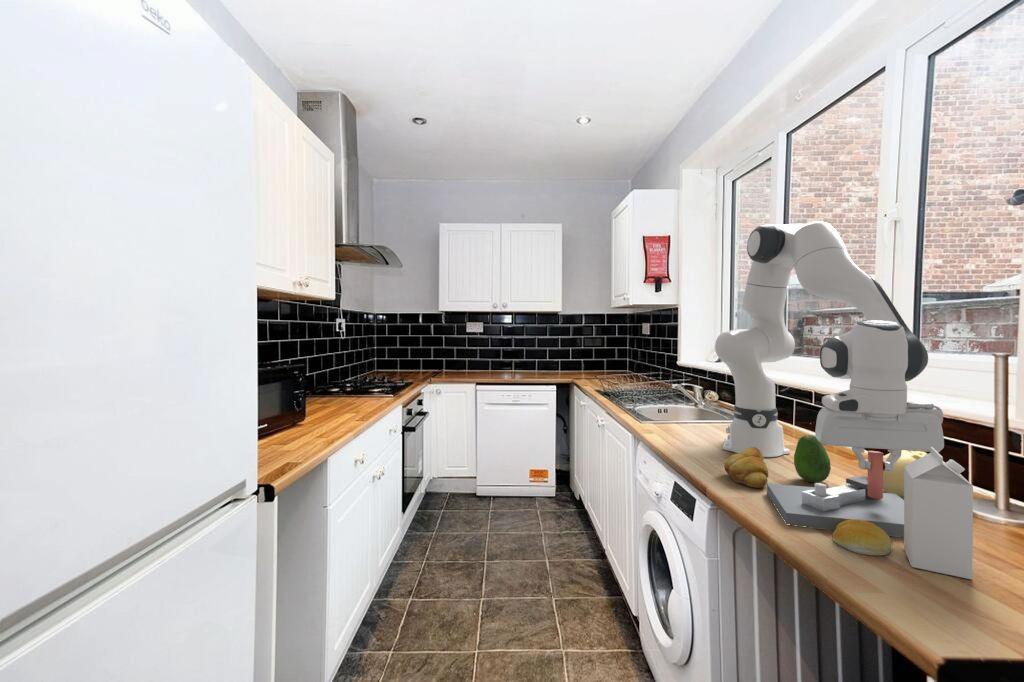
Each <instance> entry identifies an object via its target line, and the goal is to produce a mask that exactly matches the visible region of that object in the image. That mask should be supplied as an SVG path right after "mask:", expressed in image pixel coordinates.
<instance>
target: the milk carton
mask: <svg viewBox="0 0 1024 682" xmlns="http://www.w3.org/2000/svg"><path fill="white" fill-rule="evenodd" d="M965 470H966V469H965V467H963V466H962V465H961V464H960V463H958V462H956V461H955V460H954V459H952V458H951V459H950V458H949V460H948V461H946V462H945V461H944V458H943V456H942V455H941V454H940V452H937V451H936V450H935V449H934V448H933V447H931V452H929V453H927V455H925V456H923V457H921V458H919V459H918V460H916V461H914V462H912V463H910V464H908V465H906V466H904V498H903V500H904V537H903V549H904V551H905V554H906V557H907V559H908V560H909V564H910V566H911V568H915V569H921V570H925V571H929V572H935V573H939V574H944V575H949V576H954V577H957V578H962V579H967V580H973V566H974V565H973V562H974V561H973V559H974V558H973V556H974V555H973V551H974V550H973V548H974V545H973V544H974V540H973V539H974V535H973V534H974V530H973V529H974V527H973V526H974V522H973V521H974V487H973V484H971V483H970V482H969V481H968V480H967V478H965V477H964V476H963V475H962V474H961V473H962V472H964V471H965Z"/></svg>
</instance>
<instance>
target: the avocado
mask: <svg viewBox="0 0 1024 682" xmlns="http://www.w3.org/2000/svg"><path fill="white" fill-rule="evenodd" d="M824 446H825V445H823V444H822V443H820V442H819V441H818V440H817V438H816V436H815V435H813V434H804V435H802V436H800V437H799V439H798V441H797V444H796V447H795V450H794V455H793V464H794V468H795V471H796V473H797V474H798V476H799V477H800V478H801V479H802V480H804V481H806V482H810V483H821V482H823V481H826V480H827V478H828V477H829V475H830V472H831V469H832V468H831V459H830V457H829V455H828V452H827V450H826V449H825V447H824Z"/></svg>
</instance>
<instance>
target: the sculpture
mask: <svg viewBox="0 0 1024 682" xmlns="http://www.w3.org/2000/svg"><path fill="white" fill-rule="evenodd" d="M927 454H928V453H927V452H923V451H907V450H902V454H901V457H900V458H899V459H898V460H897V461H896V463H894V471H884V470H883V492H885V493H893V494H897V495H898V496H899V497H901V498H902V499H904V466H906V465H908V464H910V463H912V462H914V461H916V460H918V459H919V458H921V457H923V456H925V455H927ZM889 455H890V452H889V453H887V454H885V455H883V460H886V459H887V458H888V456H889Z"/></svg>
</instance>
